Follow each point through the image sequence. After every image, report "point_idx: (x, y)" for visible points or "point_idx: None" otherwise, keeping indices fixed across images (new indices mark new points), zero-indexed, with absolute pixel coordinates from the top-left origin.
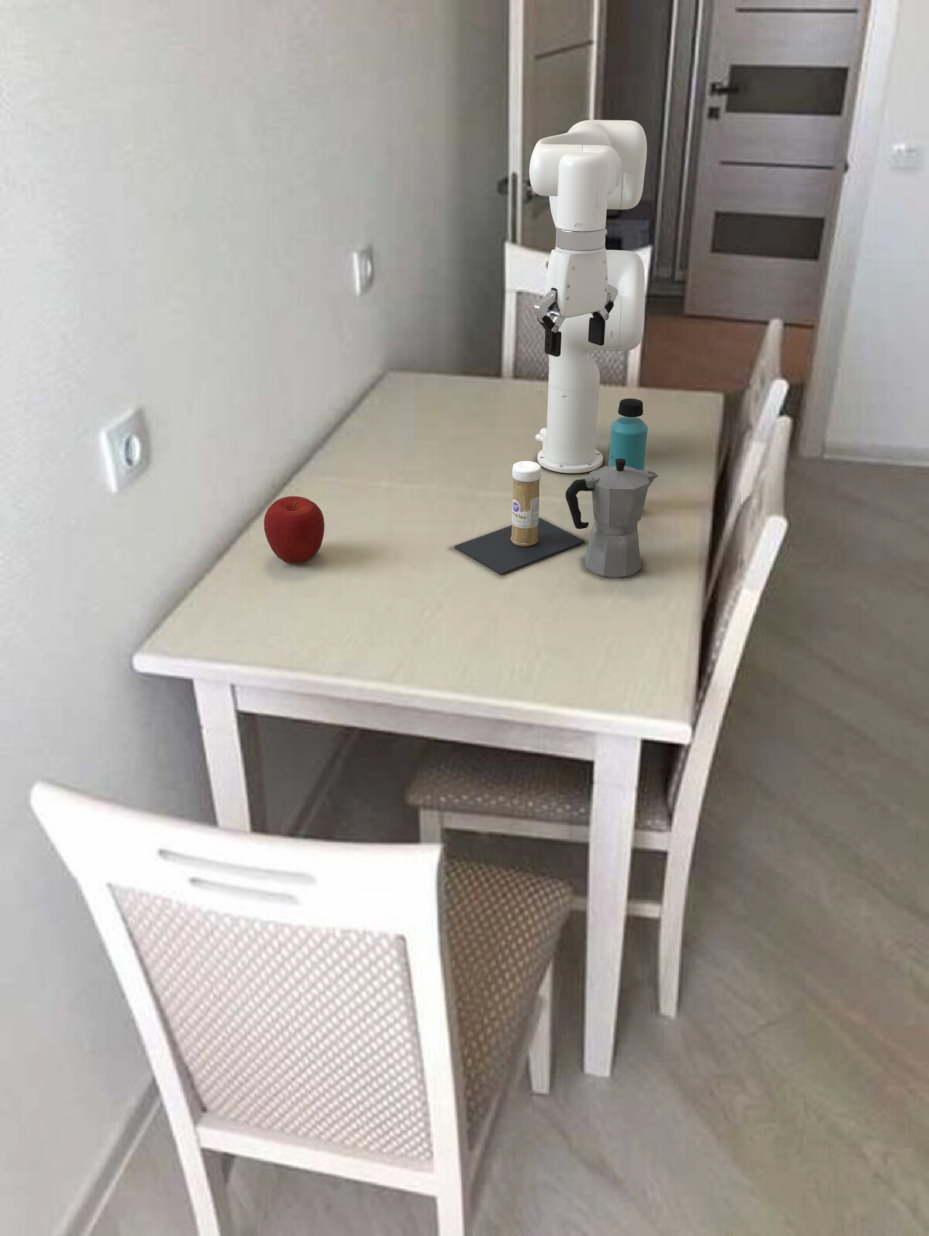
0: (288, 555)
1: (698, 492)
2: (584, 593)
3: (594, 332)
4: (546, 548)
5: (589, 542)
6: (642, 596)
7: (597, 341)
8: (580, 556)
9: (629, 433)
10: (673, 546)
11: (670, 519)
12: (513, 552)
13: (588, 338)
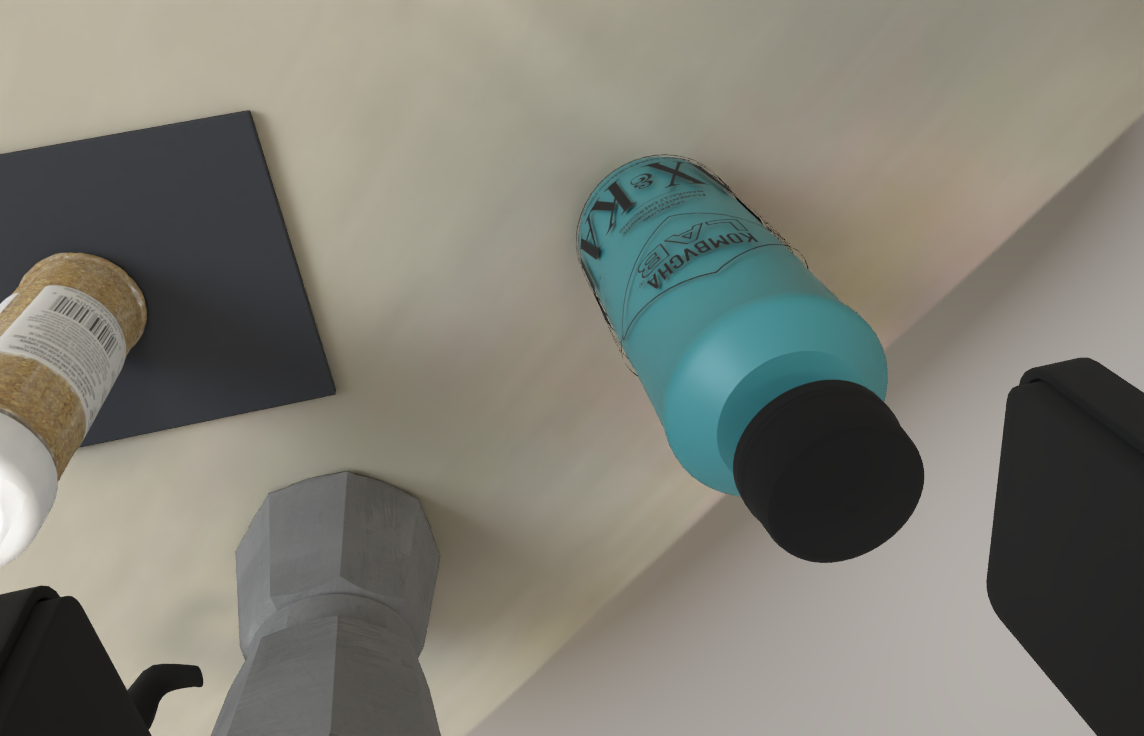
0: None
1: (1000, 214)
2: (157, 655)
3: (1117, 608)
4: (156, 389)
5: (259, 563)
6: None
7: (1016, 581)
8: (266, 465)
9: (704, 483)
10: (603, 517)
11: None
12: None
13: (1039, 412)
